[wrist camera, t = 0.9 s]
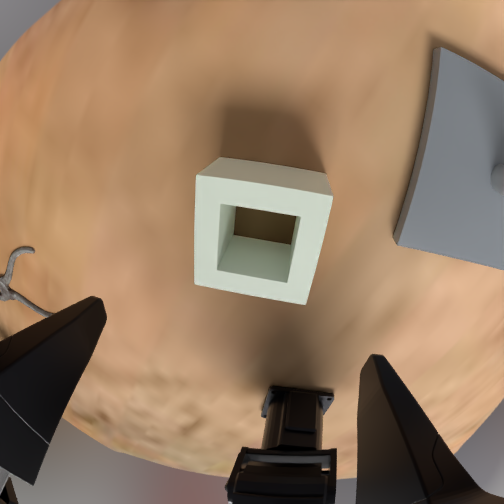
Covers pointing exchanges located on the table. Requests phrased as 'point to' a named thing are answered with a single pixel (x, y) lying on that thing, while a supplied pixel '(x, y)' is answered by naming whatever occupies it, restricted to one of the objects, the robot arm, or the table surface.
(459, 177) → the post stand
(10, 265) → the pliers
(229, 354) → the table surface
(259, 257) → the hollow square sleeve
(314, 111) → the table surface
